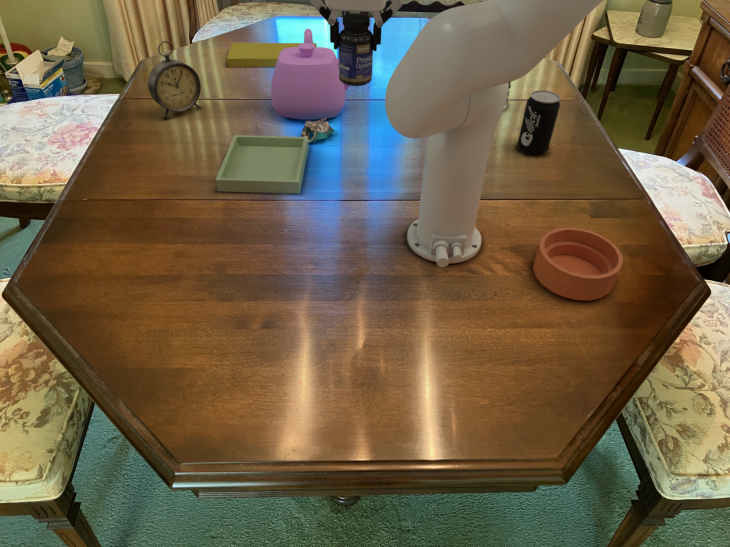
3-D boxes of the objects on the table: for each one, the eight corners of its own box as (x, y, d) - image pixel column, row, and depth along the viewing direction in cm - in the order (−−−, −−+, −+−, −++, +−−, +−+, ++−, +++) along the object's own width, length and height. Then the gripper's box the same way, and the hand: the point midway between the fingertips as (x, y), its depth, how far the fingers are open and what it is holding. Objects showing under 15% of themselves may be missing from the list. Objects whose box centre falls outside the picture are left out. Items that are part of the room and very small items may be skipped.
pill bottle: (359, 90, 98) (360, 25, 91) (332, 81, 101) (331, 18, 93) (378, 78, 102) (380, 16, 95) (351, 71, 105) (351, 9, 97)
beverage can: (548, 158, 116) (563, 104, 108) (516, 154, 117) (528, 101, 109) (547, 143, 121) (561, 91, 113) (516, 140, 122) (528, 87, 114)
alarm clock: (163, 123, 125) (145, 50, 114) (152, 114, 128) (134, 43, 117) (206, 109, 130) (193, 39, 119) (195, 101, 133) (181, 32, 122)
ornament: (319, 125, 125) (319, 110, 123) (340, 136, 122) (340, 120, 119) (292, 136, 121) (291, 121, 119) (312, 148, 118) (312, 132, 115)
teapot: (362, 125, 126) (363, 59, 116) (269, 125, 125) (262, 58, 115) (359, 84, 143) (360, 24, 133) (278, 84, 142) (272, 23, 132)
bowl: (623, 303, 84) (634, 279, 80) (542, 301, 84) (550, 276, 81) (599, 251, 93) (608, 228, 90) (525, 249, 93) (532, 226, 90)
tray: (299, 193, 104) (298, 182, 103) (217, 191, 104) (215, 179, 103) (308, 147, 118) (308, 136, 116) (235, 145, 118) (234, 134, 116)
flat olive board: (227, 66, 150) (316, 66, 151) (226, 58, 149) (315, 58, 150) (233, 50, 159) (316, 50, 160) (232, 42, 158) (316, 43, 159)
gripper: (298, -68, 83) (304, 53, 95) (412, -64, 82) (404, 57, 94) (304, -77, 88) (309, 38, 100) (412, -73, 88) (404, 42, 100)
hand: (355, 46), depth 97 cm, fingers closed on pill bottle, 6 cm apart
